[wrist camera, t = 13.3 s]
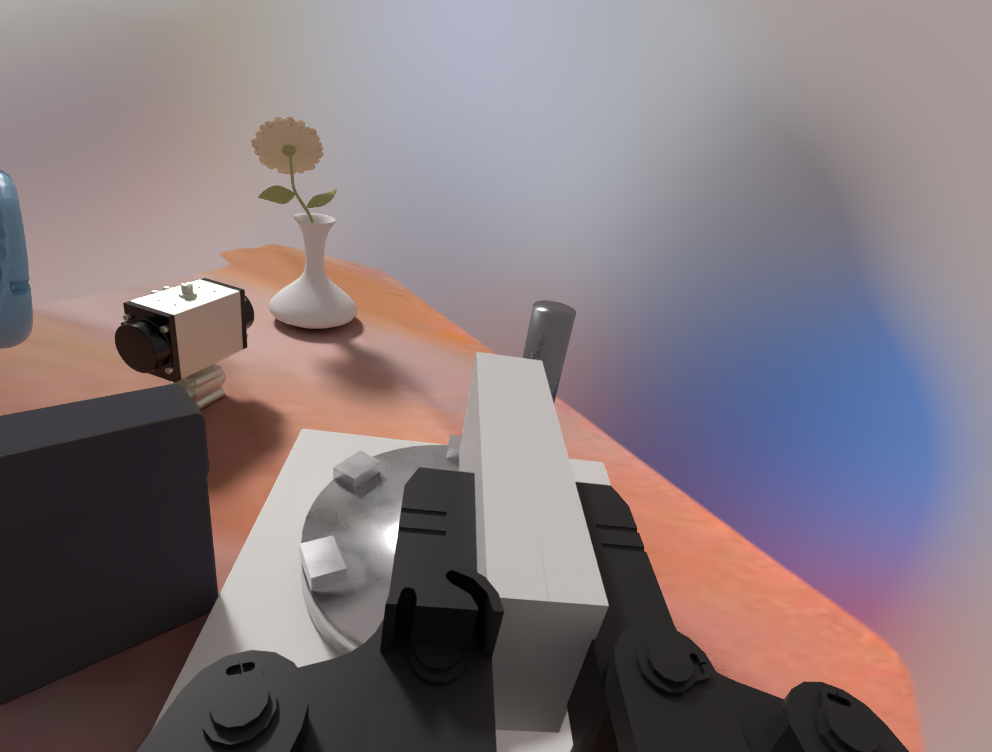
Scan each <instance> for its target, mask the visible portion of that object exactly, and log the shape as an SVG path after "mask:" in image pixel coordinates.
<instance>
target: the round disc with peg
mask: <svg viewBox="0 0 992 752" xmlns="http://www.w3.org/2000/svg"><path fill="white" fill-rule="evenodd" d="M575 315H576V311H575V310H574V309H573V308H571V307H570V306H567V305H565V304H562V303H558V302H553V301H537V302H535V303H534V305H533V309H532V315H531V319H530V324H529V329H528V334H527V339H526V344H525V349H524V354H523V358H526V359H533V360H541V361H542V362H543V366H544V370H545V373H546V377H547V381H548V384H549V388H550V392H551V395H552V399H553V403H554V402H555V397H556V393H557V389H558V385H559V381H560V377H561V373H562V368H563V364H564V360H565V356H566V352H567V348H568V343H569V340H570V336H571V331H572V327H573V323H574V319H575ZM461 438H462V436H456V435H450V438H449V445H424V446H412V447H406V448H400V449H396V450H392V451H388V452H384V453H381V454H378V455H375V456H373V457H372V456H370V455H368V454H366V453H364V452H363V451H361V450H360V451H358V452H357V453H355V454H354V455H352V456H350V457H349V458H347V459H346V460H344V461H342V462H341V463H339V464H338V465H336V466H334V467H333V478H334V479H333V480H332V481H331V482H330V483H329V484H328V485H327V486H326V487H325V488H324V489H323V490H322V491H321V493H320V494H319V495H318V497H317V498H316V500H315V501H314V502H313V504H312V506H311V508H310V510H309V512H308V514H307V516H306V519H305V523H304V526H303V530H302V538H301V543H300V559H301V583H302V592H303V596H304V599H305V603H306V607H307V609H308V611H309V613H310V616H311V618H312V620H313V622H314V624H315V626H316V627H317V628H318V630H319V631H320V633H321V634H322V636H323V637H324V638H325V640H326V641H327V642H328V643H329V644H330V645H331V646H332V647H333V648H334V649H335V650H336V651H337V652H338V654H339V655H341V656H342V655H344V654H347V653H349V652H351V651H353V650H354V649H356V648H357V647H359V646H361V645H362V644H364V643H365V642H366V641H367V640H368V639H369V638H370V637H371V636H372V635H373V634H374V633H375V632H376V630H377V629H378V627H379V625H380V624H381V622H382V621H383V619H384V612H385V603H386V601H387V598H388V596H389V590H390V583H391V576H392V569H393V562H394V555H395V548H396V541H397V534H398V527H399V520H400V513H401V506H402V499H403V492H404V485H405V484H406V483H407V481H408V480H409V479H410V478H411V476H412V475H413V474H414V473H415V471H416V470H417V469H418V468H419V467H423V468H432V469H442V470H451V471H459V450H460V444H461Z"/></svg>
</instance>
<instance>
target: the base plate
mask: <svg viewBox="0 0 992 752" xmlns="http://www.w3.org/2000/svg"><path fill="white" fill-rule="evenodd" d="M424 445H443V444H434V443H425V442H416V441H407V440H398V439H389V438H380V437H371V436H363V435H354V434H345V433H336V432H327V431H318V430H309V429H302V430H301V432H300V434H299V436H298V438H297V440H296V442H295V444H294V446H293V448H292V450H291V452H290V454H289V456H288V458H287V460H286V462H285V464H284V466H283V468H282V470H281V472H280V474H279V476H278V478H277V480H276V482H275V484H274V486H273V488H272V490H271V492H270V494H269V496H268V498H267V500H266V502H265V504H264V506H263V508H262V510H261V512H260V514H259V516H258V518H257V520H256V522H255V524H254V526H253V528H252V530H251V532H250V534H249V536H248V538H247V540H246V542H245V544H244V546H243V548H242V550H241V552H240V554H239V556H238V558H237V560H236V562H235V564H234V566H233V568H232V570H231V572H230V574H229V576H228V578H227V580H226V582H225V584H224V586H223V588H222V590H221V592H220V594H219V596H218V598H217V600H216V602H215V604H214V606H213V608H212V610H211V612H210V614H209V616H208V618H207V620H206V622H205V624H204V626H203V628H202V630H201V632H200V634H199V636H198V638H197V640H196V642H195V645H194V647H193V649H192V651H191V653H190V655H189V657H188V659H187V661H186V663H185V665H184V667H183V669H182V671H181V673H180V675H179V677H178V679H177V681H176V683H175V685H174V687H173V689H172V691H171V693H170V695H169V697H168V699H167V701H166V703H165V705H164V707H163V709H162V711H161V713H160V715H159V717H158V719H157V721H156V723H155V725H154V727H155V726H156V724H157V723H158V721H159V720H160V719H161V717H162V716H163V715H164V713H165V712H166V710H167V709H168V708H169V706H170V705H171V704H172V702H173V701H174V699H175V698H176V697H177V695H178V694H179V693H180V691H181V690H182V689H183V688H184V687H185V686H186V685H187V684H188V683H189V682H190V681H191V680H192V679H193V678H194V677H195V676H196V675H197V674H198V673H199V672H200V671H201V670H202V669H204V668H205V667H207V666H209V665H211V664H212V663H214V662H216V661H218V660H219V659H221V658H223V657H225V656H227V655H231V654H236V653H240V652H244V651H249V650H259V651H269V652H276V653H278V654H280V655H281V656H283V657H285V658H287V659H289V660H291V661H292V662H294V663H295V665H296V666H297V667H302V666H306V665H310V664H314V663H318V662H322V661H326V660H330V659H333V658H336V657H339V656H341V655H339V654H338V652H337V651H336V650H335V649H334V648H333V647H332V646H331V645H330V644H329V643H328V642H327V641H326V640H325V638H324V637H323V636H322V634H321V633H320V631H319V630H318V628H317V627H316V626H315V624H314V622H313V620H312V618H311V616H310V613H309V611H308V609H307V607H306V603H305V599H304V596H303V592H302V583H301V559H300V543H301V538H302V530H303V526H304V523H305V519H306V516H307V514H308V512H309V510H310V508H311V506H312V504H313V502H314V501H315V500H316V498H317V497H318V495H319V494H320V493H321V491H322V490H323V489H324V488H325V487H326V486H327V485H328V484H329V483H330V482H331V481H332V480H333V479H334V478H333V467H334V466H336V465H338V464H339V463H341V462H342V461H344V460H346V459H347V458H349V457H350V456H352V455H354V454H355V453H357V452H358V451H360V450H361V451H363V452H364V453H366V454H368V455H370V456H372V457H373V456H375V455H378V454H381V453H384V452H388V451H392V450H396V449H400V448H406V447H412V446H424ZM569 462H570V465H571V469H572V473H573V476H574V480H575V482H583V483H593V484H602V485H611V483H610V481H609V478H608V475H607V472H606V469H605V466H604V463H603V462H594V461H585V460H576V459H569ZM154 727H153V728H154ZM152 730H153V729H152ZM572 746H573V741H572V735H571V728H570V722H569V716H568V711H567V713H566V716H565V718H564V721H563V723H562V726H561V728H560V731H559V733H554V732H532V731H510V730H496V747H497V752H570V751H571V749H572Z"/></svg>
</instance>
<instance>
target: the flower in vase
mask: <svg viewBox="0 0 992 752" xmlns="http://www.w3.org/2000/svg"><path fill="white" fill-rule="evenodd" d="M256 137H257V138H254V139H252V146H253V147H254V148H255V149H256V150H255V154H257V155H259V156H261V157H259V161H260V162H261V163H262V164H263V165H266V166H267V167H268V168H270V169H274V168H277V170H278V172H279V173H284V174H290V175H291V183H292V188H293V191H294V193H293V192H292V191H290V190H288V189H286V188H284V187H282V186H272V187H270V188H268V189H266V190H265V191H263V192H262V193H261V194H260V195H259V198H261V199H265V200H269V201H272V202H276V203H279V204H286V203H287V202H289V201H290V200H291V199H292V198H293V197H294V195H296V197H297V199H298V200H299V202H300V204H301V205H302V206H303V208H304V209H305V211H306V213H301V214H296V215H294V218H295V220H296V221H297V222H298V224H299V226H300V228H301V230H302V232H303V236H304V242H305V251H306V264H305V270H304V272H303V274H302V275H301V276H300V277H299V278H298V279H297V280H295V281H294V282H292V283H291V284H289V285H288V286H286V287H285V288H283V289H282V290H280V291H279V292H278V293H277V294H276V295H275V296H274V297H273V298H272V299H271V301H270V304H269V310H270V312H271V313H272V314H273V316H274V317H275V318H277V319H278V320H280V321H282V322H284V323H287V324H290V325H293V326H297V327H302V328H311V329H323V328H331V327H337V326H341V325H344V324H346V323H348V322H350V321H351V320H352V319H353V318H354V317H355V316H356V314H357V307H356V304H355V302H354V301H353V300H352V299H351V298H350V297H349V296H348V295H347V294H346V293H345V292H344V291H343V290H341V289H340V288H339V287H338V286H336V285H335V284H334V283H333V282H332V281H330V280H329V278H328V277H327V276H326V274H325V271H324V248H325V241H326V238H327V235H328V232H329V230H330V228H331V227H332V226H333V224H334V223H335V222H336V219H334V218H333V217H330V216H327V215H321V214H315V213H310V212H309V211H308V209H307V207H308V208H313V207H320V206H323V205H325V204H327V203H328V202H330V201H331V200H332V198H333V197H334V195H335V193H336V190H334V191H332V192H329V193H325V194H320V195H316V196H314V197H313V198H312V199H311V200H310V201H309V203H308V205H307V207H306V206H305V205H304V203H303V202H302V200H301V199H300V197H299V196H298V194H297V192H296V189H295V186H294V176H293V174H295V173H296V172H298V173H303V172H304V171H307V170H313V169H314V168H315V165H314V164H316V163H318V162H319V159H318V158H321V157H322V156H323V152H321V151H322V150H323V148H322V146H321V145H322V144H321V143H320V142H319V137H318V135H317V134H316V130H315V129H312V128H311V129H310V128H309V127H305V123H304V122H303V121H302V120H299V121H294V119H293V118H292V117H287V118H286V119H282V118H280V117H276V118H275V119H274V121H273V122H270V121H265V123H264V125H261V126H260V130H259V131H257V132H256Z"/></svg>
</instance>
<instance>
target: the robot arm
mask: <svg viewBox="0 0 992 752" xmlns="http://www.w3.org/2000/svg"><path fill="white" fill-rule="evenodd" d="M28 281H29V267H28V257H27V249H26V242H25V235H24V228H23V221H22V215H21V210H20V204H19V199H18V194H17V190H16V186H15V185H14V183H13V181H12V179H11V177H10V176H9V175H8V174H7V173H6V172H4V171H2V170H0V349H3V348H10V347H14V346H17V345H19V344H21V343H22V342H24V341H25V340H26V339H27V338H28V336H29V335H30V333H31V331H32V325H33V311H32V298H31V290H30V285H29V283H28ZM567 711H568V716H569V722H570V728H571V735H572V741H573V746H572V749H571V751H570V752H909V751H908V750H907V749H906V748H905V746H904V745H903V744H902V743H901V742H900V740H899V739H898V738H897V737H896V736H895V735H894V733H893V732H892V731H891V730H890V729H889V728H888V726H887V725H886V724H885V723H884V722H883V721H882V720H881V719H880V718H879V717H878V716H877V715H876V714H875V713H874V712H873V711H872V710H871V709H870V708H868V707H867V706H866V705H865V704H864V703H862V702H861V701H859V700H858V699H856V698H855V697H853V696H852V695H850V694H849V693H847V692H846V691H844V690H842V689H839V688H836V687H834V686H831V685H828V684H826V683H823V682H803V683H801V684H799V685H798V686H796V687H794V688H793V689H791V691H790V692H789V693H788V695H787V696H786V698H785V699H781V698H779V697H776V696H773V695H771V694H768V693H765V692H763V691H760V690H757V689H755V688H752V687H749V686H747V685H744V684H741V683H739V682H736V681H734V680H731V679H729V678H727V677H725V676H723V675H721V674H719V673H717V672H716V671H715V669H714V667H713V666H712V664H711V662H710V661H709V659H708V658H707V656H706V654H705V653H704V652H703V651H702V650H701V649H700V648H699V647H698V646H697V645H696V644H695V643H694V642H693V641H692V640H691V639H690V638H688V637H687V636H685V635H683V634H681V633H680V632H678V631H677V630H676V628H675V626H674V624H673V621H672V618H671V616H670V613H669V610H668V608H667V605H666V603H665V600H664V597H663V595H662V592H661V589H660V587H659V584H658V582H657V579H656V576H655V574H654V571H653V568H652V566H651V563H650V561H649V558H648V555H647V553H646V552H644V545H643V542H642V540H641V537H640V534H639V533H637V526H636V524H635V521H634V519H633V516H632V513H631V511H630V508H629V506H628V504H627V503H626V502H625V501H624V500H623V499H622V498H621V497H620V495H619V494H618V493H617V492H616V491H615V490H614V489H613V488H612V486H611V485H602V484H593V483H583V482H575V480H574V476H573V473H572V469H571V465H570V462H569V458H568V454H567V451H566V447H565V443H564V439H563V436H562V432H561V428H560V425H559V421H558V417H557V414H556V410H555V406H554V403H553V399H552V395H551V392H550V388H549V384H548V381H547V377H546V373H545V370H544V366H543V362H542V361H541V360H533V359H526V358H518V357H510V356H503V355H496V354H488V353H481V352H476V358H475V364H474V369H473V375H472V381H471V387H470V392H469V398H468V404H467V409H466V415H465V421H464V427H463V432H462V438H461V444H460V450H459V471H451V470H442V469H432V468H423V467H419V468H418V469H417V470H416V471H415V473H414V474H413V475H412V476H411V478H410V479H409V480H408V481H407V483H406V484H405V485H404V492H403V499H402V506H401V513H400V520H399V527H398V534H397V541H396V548H395V555H394V562H393V569H392V576H391V583H390V590H389V596H388V598H387V601H386V603H385V612H384V619H383V621H382V622H381V624H380V625H379V627H378V629H377V630H376V632H375V633H374V634H373V635H372V636H371V637H370V638H369V639H368V640H367V641H366V642H365V643H364V644H362V645H361V646H359V647H357V648H356V649H354V650H353V651H351V652H349V653H347V654H344V655H342V656H339V657H336V658H333V659H330V660H326V661H322V662H318V663H314V664H310V665H306V666H302V667H297V666H296V665H295V663H294V662H292V661H291V660H289V659H287V658H285V657H283V656H281V655H280V654H278V653H276V652H269V651H259V650H249V651H244V652H240V653H236V654H231V655H227V656H225V657H223V658H221V659H219V660H218V661H216V662H214V663H212V664H211V665H209V666H207V667H205V668H204V669H202V670H201V671H200V672H199V673H198V674H197V675H196V676H195V677H194V678H193V679H192V680H191V681H190V682H189V683H188V684H187V685H186V686H185V687H184V688H183V689H182V690H181V691H180V693H179V694H178V695H177V697H176V698H175V699H174V701H173V702H172V704H171V705H170V706H169V708H168V709H167V710H166V712H165V713H164V715H163V716H162V717H161V719H160V720H159V721H158V723H157V724H156V726H155V727H154V728H153V730H152V731H151V732H150V734H149V735H148V737H147V738H146V739H145V741H144V742H143V743H142V745H141V746H140V748H139V749H138V750H137V752H497V747H496V730H510V731H532V732H554V733H559V731H560V728H561V726H562V723H563V721H564V718H565V716H566V713H567Z"/></svg>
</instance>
